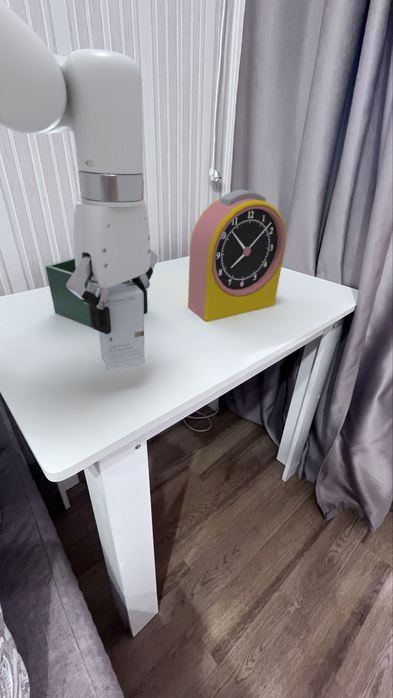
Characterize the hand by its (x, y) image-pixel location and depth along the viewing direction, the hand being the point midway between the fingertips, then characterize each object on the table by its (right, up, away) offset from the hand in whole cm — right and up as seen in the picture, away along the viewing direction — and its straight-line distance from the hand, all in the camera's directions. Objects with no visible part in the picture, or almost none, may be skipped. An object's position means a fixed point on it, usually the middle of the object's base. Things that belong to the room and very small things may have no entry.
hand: (121, 319), depth 49 cm
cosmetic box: (0, -6, +4) cm, 7 cm away
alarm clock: (+20, +6, +34) cm, 40 cm away
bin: (-11, +5, +29) cm, 32 cm away
